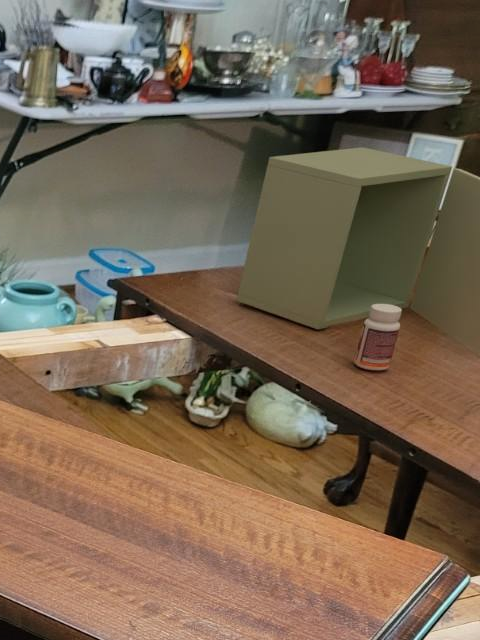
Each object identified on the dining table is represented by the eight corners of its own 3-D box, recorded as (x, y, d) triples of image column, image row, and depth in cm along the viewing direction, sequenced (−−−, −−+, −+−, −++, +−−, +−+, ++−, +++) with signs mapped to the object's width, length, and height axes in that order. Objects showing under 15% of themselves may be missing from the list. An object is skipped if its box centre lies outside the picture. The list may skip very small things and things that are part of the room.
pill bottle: (396, 369, 156) (412, 311, 151) (367, 372, 155) (383, 314, 150) (374, 358, 160) (389, 301, 155) (346, 361, 159) (361, 303, 154)
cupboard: (407, 308, 183) (452, 166, 171) (317, 329, 170) (359, 178, 158) (326, 282, 193) (363, 147, 181) (236, 300, 181) (269, 156, 169)
